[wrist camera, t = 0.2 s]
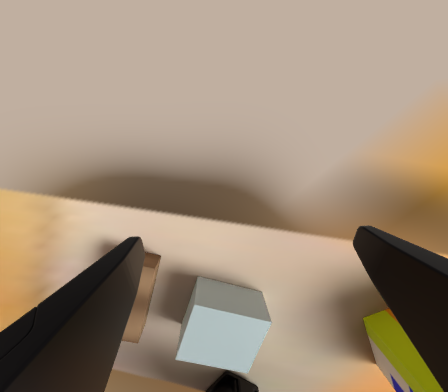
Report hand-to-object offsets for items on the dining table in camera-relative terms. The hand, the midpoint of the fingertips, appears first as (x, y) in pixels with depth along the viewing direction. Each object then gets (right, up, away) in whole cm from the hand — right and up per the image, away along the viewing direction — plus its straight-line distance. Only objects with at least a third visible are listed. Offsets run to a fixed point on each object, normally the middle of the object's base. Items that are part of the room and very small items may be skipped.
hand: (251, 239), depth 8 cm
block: (-1, -14, +20) cm, 24 cm away
